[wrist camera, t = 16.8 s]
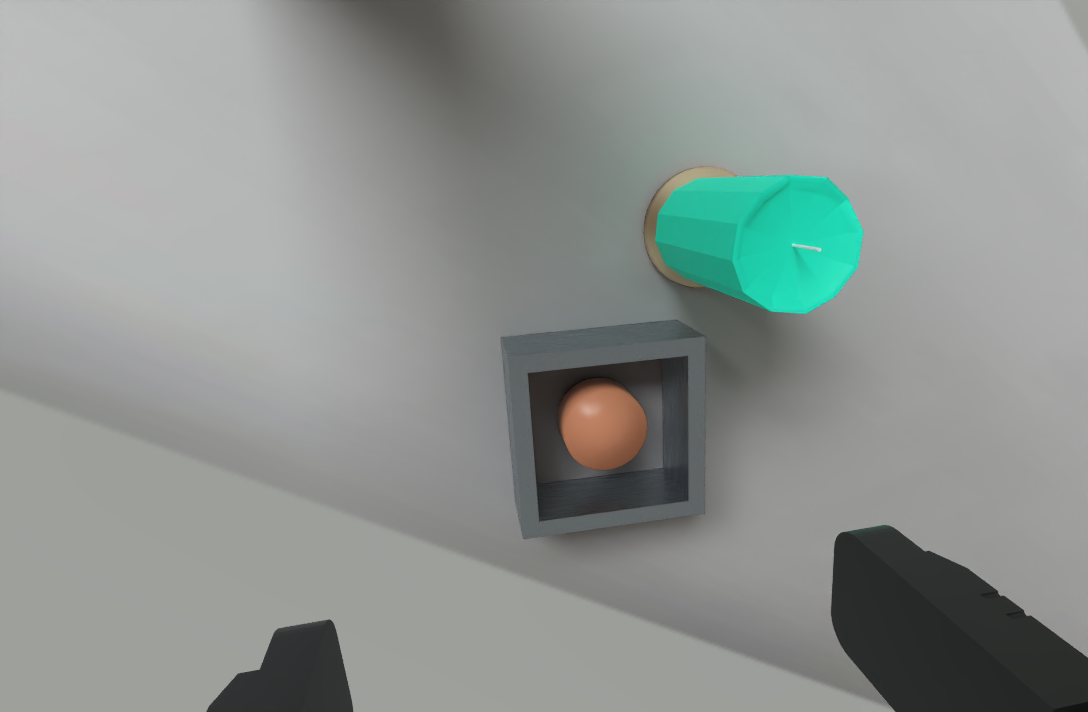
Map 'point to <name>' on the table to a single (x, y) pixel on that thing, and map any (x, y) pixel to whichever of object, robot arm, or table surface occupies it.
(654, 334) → the gray open box
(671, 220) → the candle
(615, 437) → the orange egg shape
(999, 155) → the table surface
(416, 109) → the table surface
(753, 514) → the table surface
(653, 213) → the coaster
